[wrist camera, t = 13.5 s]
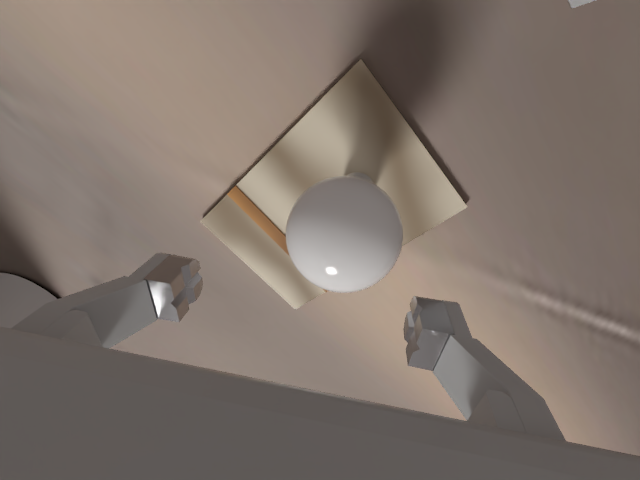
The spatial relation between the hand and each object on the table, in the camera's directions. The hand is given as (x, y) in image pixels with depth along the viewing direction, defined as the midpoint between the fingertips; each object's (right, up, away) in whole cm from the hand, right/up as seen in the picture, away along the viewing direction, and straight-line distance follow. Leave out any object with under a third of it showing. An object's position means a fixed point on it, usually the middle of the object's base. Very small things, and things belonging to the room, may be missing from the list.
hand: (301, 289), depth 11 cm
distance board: (+1, +4, +14) cm, 15 cm away
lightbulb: (+4, +6, +12) cm, 14 cm away
